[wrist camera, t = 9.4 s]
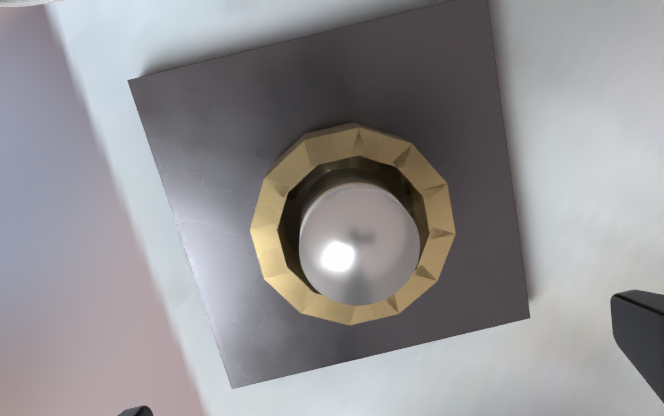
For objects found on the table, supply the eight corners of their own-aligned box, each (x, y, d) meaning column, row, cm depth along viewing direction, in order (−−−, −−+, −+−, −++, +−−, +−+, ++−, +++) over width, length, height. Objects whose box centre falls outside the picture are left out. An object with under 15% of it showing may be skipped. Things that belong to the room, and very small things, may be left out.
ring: (447, 272, 19) (466, 298, 17) (285, 311, 19) (282, 341, 17) (417, 106, 18) (434, 109, 15) (239, 149, 18) (228, 158, 15)
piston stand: (520, 307, 22) (597, 386, 16) (235, 375, 22) (209, 477, 16) (476, -3, 18) (555, -46, 13) (136, 80, 18) (58, 76, 13)
